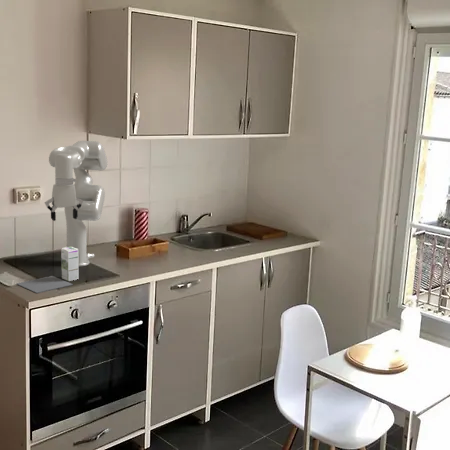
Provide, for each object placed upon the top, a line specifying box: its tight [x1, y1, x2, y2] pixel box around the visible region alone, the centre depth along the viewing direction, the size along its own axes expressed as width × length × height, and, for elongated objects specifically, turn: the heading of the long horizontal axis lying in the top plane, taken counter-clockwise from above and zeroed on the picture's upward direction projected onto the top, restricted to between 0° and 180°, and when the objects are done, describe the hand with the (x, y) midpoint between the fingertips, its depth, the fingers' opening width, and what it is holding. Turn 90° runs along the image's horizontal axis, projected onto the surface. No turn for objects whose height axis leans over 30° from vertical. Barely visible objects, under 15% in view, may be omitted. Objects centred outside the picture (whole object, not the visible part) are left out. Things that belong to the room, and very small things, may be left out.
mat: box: [16, 275, 74, 294], centre depth 273 cm, size 18×16×1 cm
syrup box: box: [60, 246, 80, 282], centre depth 281 cm, size 6×6×14 cm
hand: (64, 219), depth 279 cm, fingers open, 9 cm apart
